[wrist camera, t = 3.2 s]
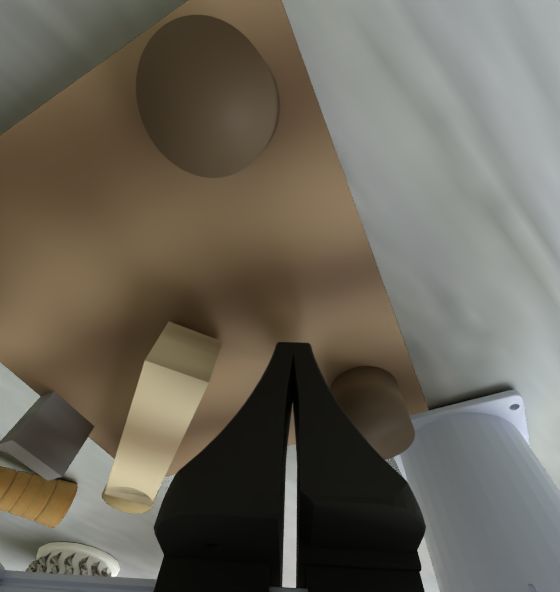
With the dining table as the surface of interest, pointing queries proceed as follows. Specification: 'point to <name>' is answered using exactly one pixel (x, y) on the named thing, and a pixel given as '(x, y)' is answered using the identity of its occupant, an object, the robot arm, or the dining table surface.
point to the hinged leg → (160, 415)
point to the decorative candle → (74, 560)
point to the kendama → (35, 496)
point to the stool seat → (188, 239)
